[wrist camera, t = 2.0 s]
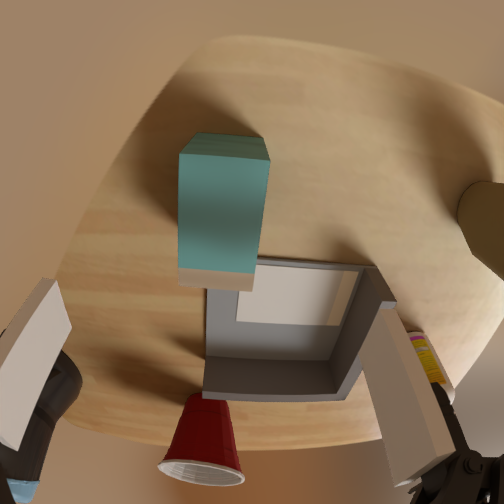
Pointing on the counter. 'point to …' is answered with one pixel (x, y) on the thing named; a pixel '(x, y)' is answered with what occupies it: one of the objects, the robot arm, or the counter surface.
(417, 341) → the supplement bottle
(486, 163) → the counter surface
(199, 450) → the plastic cup
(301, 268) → the corner tray
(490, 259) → the squeeze bottle
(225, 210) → the teal block
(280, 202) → the counter surface
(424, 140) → the counter surface
